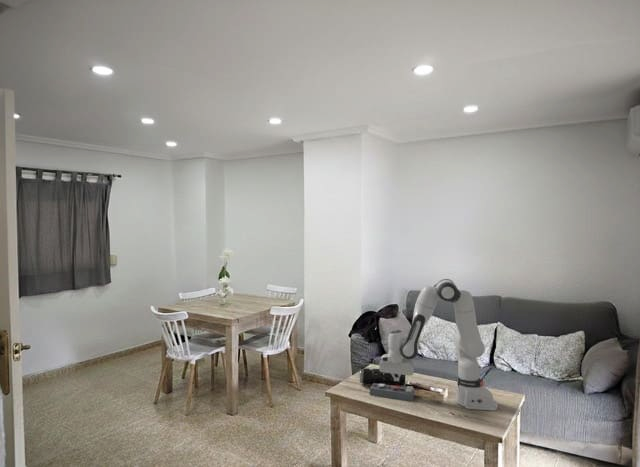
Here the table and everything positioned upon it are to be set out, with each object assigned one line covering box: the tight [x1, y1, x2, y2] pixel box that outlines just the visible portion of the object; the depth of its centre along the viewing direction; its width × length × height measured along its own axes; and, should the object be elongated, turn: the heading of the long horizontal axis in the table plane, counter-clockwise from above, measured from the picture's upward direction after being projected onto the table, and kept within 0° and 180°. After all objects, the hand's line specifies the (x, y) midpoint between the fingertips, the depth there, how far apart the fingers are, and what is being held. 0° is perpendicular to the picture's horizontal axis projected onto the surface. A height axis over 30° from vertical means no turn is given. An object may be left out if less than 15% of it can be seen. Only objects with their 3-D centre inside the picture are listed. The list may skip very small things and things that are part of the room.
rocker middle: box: [391, 385, 400, 389], centre depth 245 cm, size 3×5×1 cm, turn 158°
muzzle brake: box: [358, 367, 406, 386], centre depth 262 cm, size 10×28×10 cm, turn 89°
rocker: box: [406, 385, 414, 392], centre depth 242 cm, size 3×5×1 cm, turn 158°
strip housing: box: [369, 383, 416, 402], centre depth 245 cm, size 25×9×4 cm, turn 68°
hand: (396, 380), depth 246 cm, fingers closed
